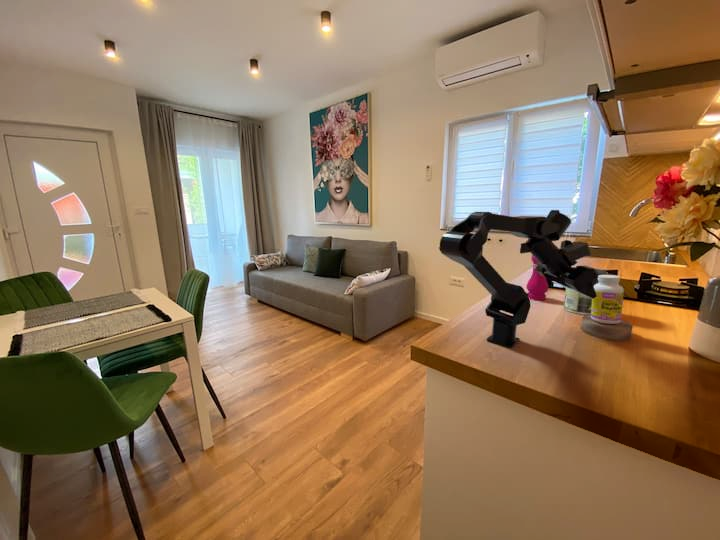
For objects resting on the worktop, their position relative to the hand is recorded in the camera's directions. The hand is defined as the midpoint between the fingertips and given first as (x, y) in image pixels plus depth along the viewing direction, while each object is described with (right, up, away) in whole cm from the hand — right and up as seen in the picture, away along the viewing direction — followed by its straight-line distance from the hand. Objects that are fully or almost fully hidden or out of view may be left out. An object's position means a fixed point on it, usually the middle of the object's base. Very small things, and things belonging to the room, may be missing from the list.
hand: (583, 292), depth 82 cm
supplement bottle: (+8, -8, +2) cm, 12 cm away
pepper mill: (+7, -5, +33) cm, 34 cm away
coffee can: (+14, -8, +20) cm, 26 cm away
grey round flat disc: (+8, -12, +2) cm, 14 cm away
